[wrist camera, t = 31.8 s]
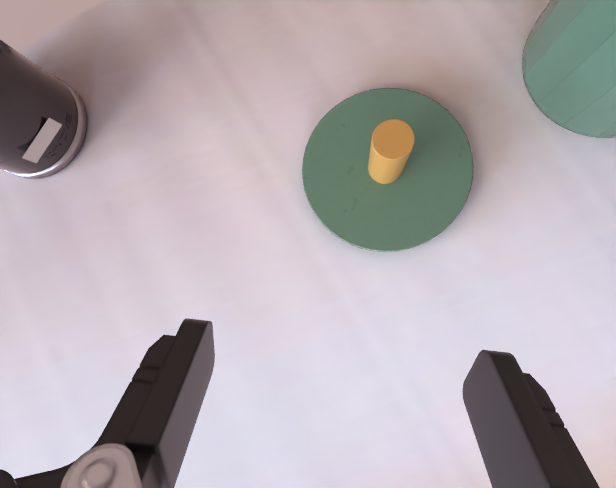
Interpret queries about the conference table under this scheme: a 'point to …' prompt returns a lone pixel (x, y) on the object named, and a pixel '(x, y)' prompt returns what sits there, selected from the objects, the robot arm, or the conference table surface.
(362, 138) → the tin lid
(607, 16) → the tin
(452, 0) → the conference table surface
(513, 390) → the robot arm
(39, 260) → the conference table surface
